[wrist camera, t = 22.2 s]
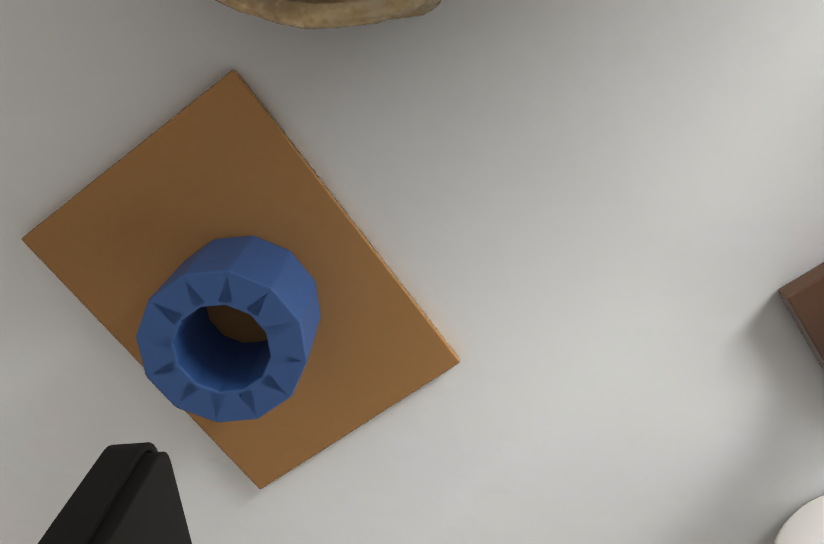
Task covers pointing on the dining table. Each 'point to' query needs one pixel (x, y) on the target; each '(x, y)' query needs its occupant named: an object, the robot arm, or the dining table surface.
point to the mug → (804, 525)
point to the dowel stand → (808, 308)
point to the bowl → (331, 11)
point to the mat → (234, 217)
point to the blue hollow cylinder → (220, 355)
